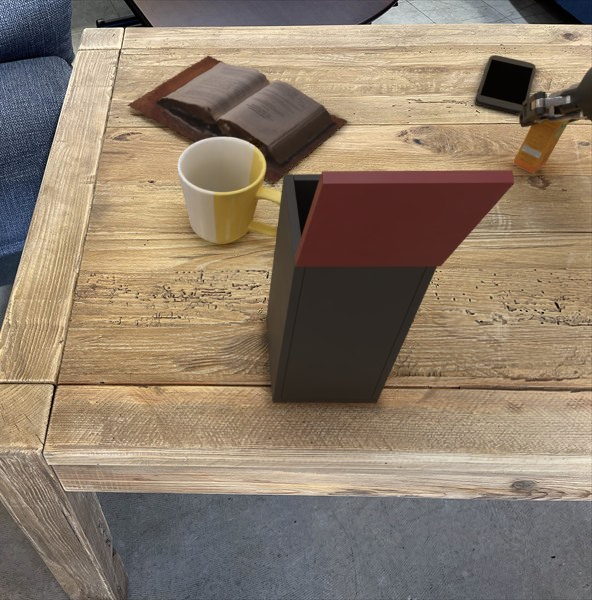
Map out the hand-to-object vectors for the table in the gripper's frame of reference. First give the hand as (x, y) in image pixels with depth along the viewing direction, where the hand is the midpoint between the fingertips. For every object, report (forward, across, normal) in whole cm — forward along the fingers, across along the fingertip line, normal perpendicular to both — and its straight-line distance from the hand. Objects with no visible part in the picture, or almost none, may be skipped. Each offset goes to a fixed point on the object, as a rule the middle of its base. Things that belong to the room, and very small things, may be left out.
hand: (542, 117), depth 79 cm
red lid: (-40, +35, +12) cm, 55 cm away
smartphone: (+17, -5, -8) cm, 20 cm away
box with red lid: (-16, +35, +26) cm, 47 cm away
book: (+15, +38, -6) cm, 41 cm away
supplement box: (+3, 0, +6) cm, 7 cm away
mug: (-3, +42, +12) cm, 44 cm away
